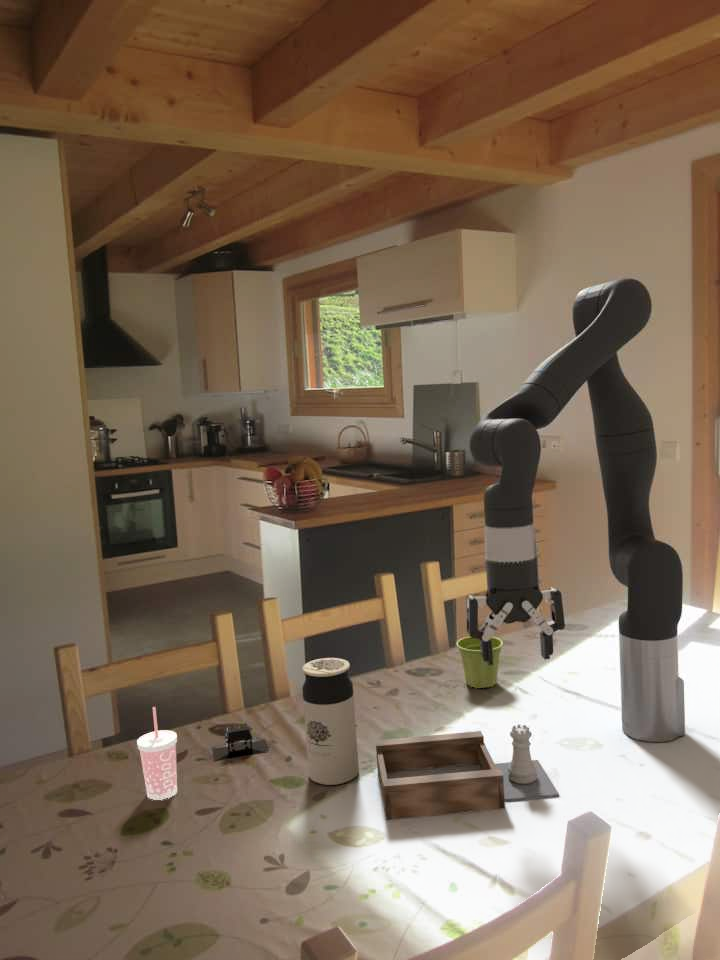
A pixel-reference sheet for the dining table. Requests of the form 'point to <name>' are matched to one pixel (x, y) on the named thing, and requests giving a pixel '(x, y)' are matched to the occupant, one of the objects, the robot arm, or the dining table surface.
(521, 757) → the rook chess piece
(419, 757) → the brown wooden box
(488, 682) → the plant pot
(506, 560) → the robot arm
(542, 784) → the charcoal mat
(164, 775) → the beverage cup
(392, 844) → the dining table surface
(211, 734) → the dining table surface
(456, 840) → the dining table surface
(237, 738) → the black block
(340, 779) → the travel mug
